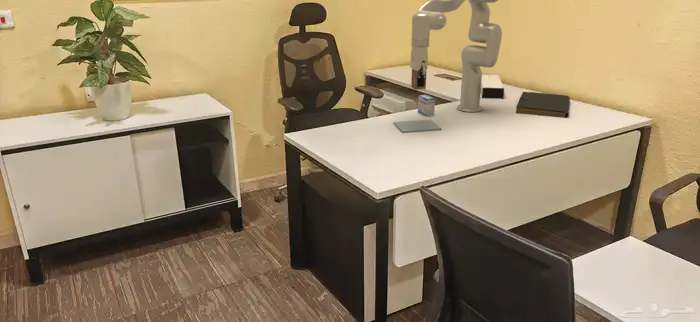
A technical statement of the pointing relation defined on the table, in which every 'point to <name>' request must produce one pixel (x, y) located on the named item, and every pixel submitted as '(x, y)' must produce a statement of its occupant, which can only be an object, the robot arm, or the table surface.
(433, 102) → the medicine box
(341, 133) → the table surface
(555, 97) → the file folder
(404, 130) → the slate board
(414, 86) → the walnut block
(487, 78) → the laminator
